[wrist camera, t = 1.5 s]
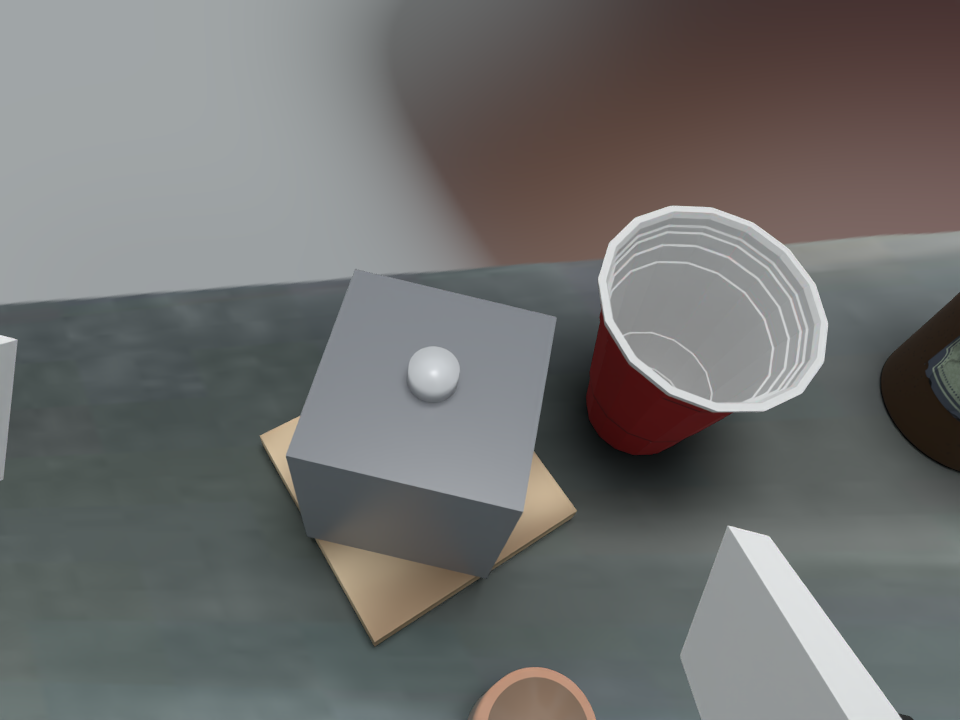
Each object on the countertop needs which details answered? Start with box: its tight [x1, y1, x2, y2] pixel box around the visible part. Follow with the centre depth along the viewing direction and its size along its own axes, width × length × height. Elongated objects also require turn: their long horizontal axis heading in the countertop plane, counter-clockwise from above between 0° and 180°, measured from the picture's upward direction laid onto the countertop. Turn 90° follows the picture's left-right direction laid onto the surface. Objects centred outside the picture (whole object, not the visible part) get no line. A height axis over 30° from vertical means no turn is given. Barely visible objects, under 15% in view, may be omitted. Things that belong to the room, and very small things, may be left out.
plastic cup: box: [586, 206, 828, 455], centre depth 37 cm, size 11×11×12 cm
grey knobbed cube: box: [286, 269, 557, 579], centre depth 32 cm, size 9×9×11 cm
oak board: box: [260, 416, 577, 646], centre depth 38 cm, size 12×12×1 cm
